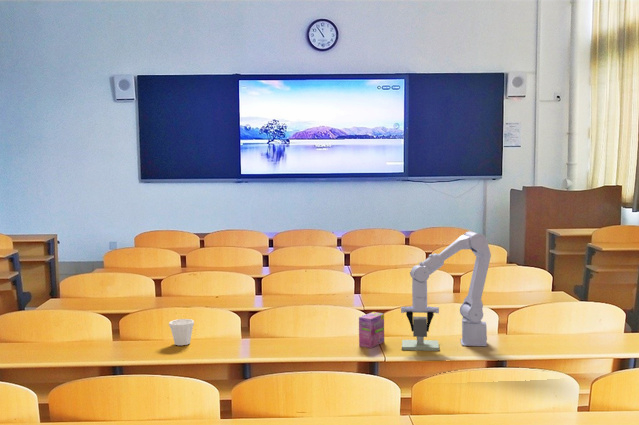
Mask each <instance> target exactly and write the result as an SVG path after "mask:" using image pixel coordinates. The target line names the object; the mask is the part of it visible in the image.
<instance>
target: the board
mask: <svg viewBox="0 0 639 425" xmlns="http://www.w3.org/2000/svg"><path fill="white" fill-rule="evenodd" d="M401 350H402V351H429V352H430V351H431V352H438V351H440V346H439V340H436V339H435V340H433V339H430V340H429V339H424V345H417V339H402V341H401Z"/></svg>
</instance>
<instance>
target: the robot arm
mask: <svg viewBox="0 0 639 425" xmlns="http://www.w3.org/2000/svg"><path fill="white" fill-rule="evenodd" d="M489 246H490V245H489V240H488V239H487V237H486V236H485V235H484V234H483V233H479V232H474V231H473V230H470V231H469V230H468V231H466V232H464V234H462V235H460V236H458V238H456V239H455V240H454V241H453V242H452V243H450V244H449V245H448V246H447V247H445V248H444V249H443V250H442V251H440V253H433V254H432V253H430V254H429V255H428V257H427V258H426V259H424V260H423V261H420V262H419V263H418V264H416V265H413V266H412V267H411V270H410V271H409V274H410V278H412V280H411V282H412V283H411V284H412V285H411V290H412V292H411V293H412V295H411V297H412V300H411V301H412V305H411V306H401V307H400V313H401V314H404V313H406V314H405V315H406V317H407V320H408V322H409V325H410V328H411V332H413V317H414V314H415V313H417V314H418V313H422V314H423V313H424V314H426V317H427V333H429V332H430V326H431V323H432V320H433V318H434V314H440V308H439V307H437V306H428V280H429V278H430V275H432V274H433V273H434V272H437V270H439V269H440V268H442V267H443V266H444V264H445V261H446V260H448V259H449V258H450V257H452V256H454V255H455V254H457V253H458V252H460V251H461V250H462V251H463V250H471V252H472V253H473V254H474V256H475V260H474V265H473V266H474V267H473V270H472V274H471V279H470V284H469V288H468V293H467V295H466V297H465V298H463V303H462V304H461V305H460V307H459V313H460V315H461V316H462V319H461V337H462V338H461V339H460V343H461V346H462V347H463V346H464V347H466V346H467V347H468V346H469V347H487V346H488V345H487V343H488V342H487V341H488V335H487V334H488V333H487V332H488V331H487V330H488V329H487V322H486V321H483V318H484V312H483V310H484V309H483V308H484V306H483V305H484V304H483V301H482V300H483V299H482V297H483V293H484V289H485V283H486V279H487V274H488V270H489V267H490V266H489V265H490V261H491V256H492V253H491V251H490V248H489Z"/></svg>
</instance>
